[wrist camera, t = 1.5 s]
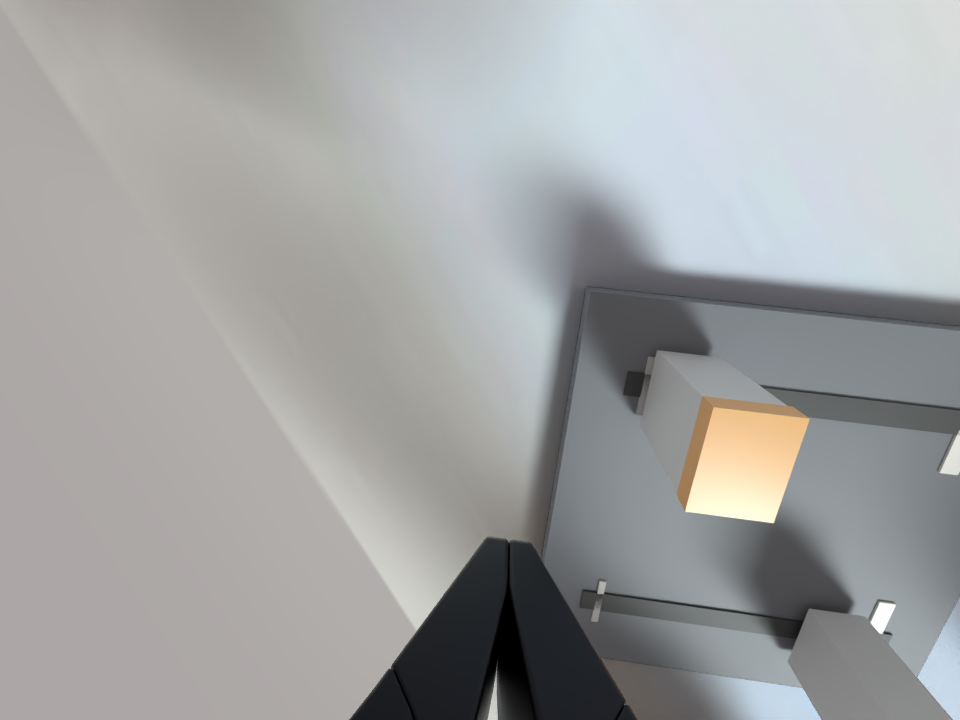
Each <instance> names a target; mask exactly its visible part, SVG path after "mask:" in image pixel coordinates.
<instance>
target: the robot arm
mask: <svg viewBox="0 0 960 720" xmlns="http://www.w3.org/2000/svg"><path fill="white" fill-rule="evenodd" d="M496 669H497V706H498V720H637V718H636V717H635V715H634V713H633V712H632V710H631V708H630V707H629V706H628V705H626V701H625V699H624V697H623V695H622V694H621V692H620V690H619V689H618V687H617V685H616V684H615V682H614V680H613V679H612V677H611V675H610V674H609V672H608V670H607V669H606V667H605V665H604V663H603V662H602V660H601V658H600V657H599V655H598V653H597V652H596V650H595V648H594V647H593V645H592V643H591V642H590V640H589V638H588V637H587V635H586V633H585V632H584V630H583V628H582V627H581V625H580V623H579V622H578V620H577V618H576V617H575V615H574V613H573V612H572V610H571V608H570V607H569V605H568V603H567V602H566V600H565V598H564V597H563V595H562V593H561V592H560V590H559V588H558V587H557V585H556V583H555V582H554V580H553V578H552V577H551V575H550V573H549V572H548V570H547V568H546V567H545V565H544V563H543V562H542V560H541V558H540V557H539V555H538V553H537V552H536V550H535V548H534V547H533V545H532V544H531V543H529V542H524V541H517V540H511V541H510V542H508V540H506V539H502V538H495V537H487V538H486V539H485V540H484V541H483V543H482V544H481V545H480V547H479V548H478V549H477V551H476V552H475V553H474V555H473V556H472V557H471V559H470V560H469V561H468V563H467V564H466V566H465V567H464V568H463V570H462V571H461V572H460V574H459V575H458V576H457V578H456V579H455V580H454V582H453V583H452V584H451V586H450V587H449V588H448V590H447V591H446V592H445V594H444V595H443V597H442V598H441V599H440V601H439V602H438V603H437V605H436V606H435V607H434V609H433V610H432V611H431V613H430V614H429V615H428V617H427V618H426V619H425V621H424V622H423V624H422V625H421V626H420V628H419V629H418V630H417V632H416V633H415V635H414V636H413V637H412V638H411V640H410V641H409V643H408V644H407V645H406V646H405V648H404V649H403V651H402V652H401V653H400V655H399V656H398V657H397V659H396V660H395V661H394V663H393V664H392V666H391V669H388V671H387V672H386V673H385V674H384V676H383V677H382V678H381V680H380V681H379V683H378V684H377V685H376V687H375V688H374V689H373V690H372V692H371V693H370V694H369V696H368V697H367V698H366V699H365V701H364V702H363V703H362V704H361V706H360V707H359V708H358V709H357V711H356V712H355V713H354V714H353V716H352V717H351V718H350V720H487V719H488V714H489V709H490V704H491V698H492V693H493V688H494V682H495V675H496Z"/></svg>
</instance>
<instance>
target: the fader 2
mask: <svg viewBox="0 0 960 720" xmlns="http://www.w3.org/2000/svg"><path fill="white" fill-rule="evenodd" d="M788 664H789V665H790V667H791V669H792V670H793V672H794V674H795V675H796V677H797V679H798V680H799V682H800V684H801V686H802V687H803V689H804V691H805V692H806V694H807V696H808V697H809V699H810V701H811V702H812V704H813V706H814V708H815V709H816V711H817V713H818V714H819V716H820V718H821V719H822V720H952V718H951V717H950V716H949V715H948V714H947V712H946V711H945V710H944V709H943V708H942V707H941V705H940V704H939V703H938V702H937V701H936V700H935V698H934V697H933V696H932V695H931V694H930V692H929V691H928V690H927V689H926V688H925V687H924V685H923V684H922V683H921V682H920V681H919V679H918V678H917V677H916V676H915V675H914V674H913V672H912V671H911V670H910V669H909V668H908V667H907V665H906V664H905V663H904V662H903V661H902V659H901V658H900V657H899V656H898V655H897V654H896V652H895V651H894V650H893V649H892V648H891V647H890V645H889V644H888V643H887V642H886V641H885V639H884V638H883V637H882V636H881V635H880V634H879V632H878V631H877V630H876V629H875V628H874V627H873V625H872V624H871V623H870V622H869V621H868V619H867V618H866V617H865V616H859V615H852V614H845V613H838V612H831V611H823V610H816V609H809V610H808V612H807V615H806V617H805V620H804V622H803V625H802V627H801V630H800V632H799V635H798V637H797V640H796V642H795V645H794V647H793V649H792V652H791V654H790V657H789V659H788Z"/></svg>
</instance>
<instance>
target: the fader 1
mask: <svg viewBox="0 0 960 720" xmlns="http://www.w3.org/2000/svg"><path fill="white" fill-rule="evenodd" d="M809 420H810V418H808V417H807V416H805V415H804V414H803V413H801V412H800V411H798V410H797V409H796V408H794V407H792V406H787V405H786V404H784V403H783V402H782V401H780V400H779V399H778V398H776V397H775V396H773V395H772V394H771V393H769V392H768V391H767V390H765V389H764V388H762V387H761V386H760V385H758V384H757V383H756V382H754V381H753V380H751V379H750V378H749V377H747V376H746V375H745V374H743V373H742V372H740V371H739V370H738V369H736V368H735V367H734V366H732V365H731V364H729V363H728V362H727V361H725V360H724V359H723V358H721V357H713V356H704V355H695V354H686V353H678V352H669V351H660V350H657V353H656V357H655V361H654V366H653V370H652V375H651V379H650V384H649V388H648V393H647V397H646V402H645V406H644V411H643V415H642V420H641V424H640V426H641V428H642V430H643V432H644V433H645V435H646V437H647V439H648V441H649V442H650V444H651V446H652V448H653V450H654V451H655V453H656V455H657V457H658V459H659V460H660V462H661V464H662V466H663V468H664V469H665V471H666V473H667V475H668V477H669V478H670V480H671V482H672V484H673V486H674V487H675V489H676V491H677V495H676V496H677V498H678V500H679V501H680V503H681V505H682V507H683V509H684V511H685V512H692V513H700V514H707V515H715V516H723V517H730V518H738V519H745V520H753V521H761V522H768V523H774V521H775V518H776V515H777V512H778V509H779V506H780V504H781V501H782V498H783V495H784V492H785V489H786V486H787V483H788V480H789V478H790V475H791V472H792V469H793V466H794V463H795V460H796V457H797V455H798V452H799V449H800V446H801V443H802V440H803V437H804V434H805V432H806V429H807V426H808V423H809Z"/></svg>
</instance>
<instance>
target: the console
mask: <svg viewBox="0 0 960 720" xmlns="http://www.w3.org/2000/svg"><path fill="white" fill-rule="evenodd" d="M657 350H660V351H669V352H678V353H686V354H695V355H704V356H713V357H721V358H723V359H724V360H725V361H727V362H728V363H729V364H731V365H732V366H734V367H735V368H736V369H738V370H739V371H740V372H742V373H743V374H745V375H746V376H747V377H749V378H750V379H751V380H753V381H754V382H756V383H757V384H758V385H760V386H761V387H762V388H764V389H765V390H767V391H768V392H769V393H771V394H772V395H773V396H775V397H776V398H778V399H779V400H780V401H782V402H783V403H784V404H786V405H787V406H792V407H794V408H796V409H797V410H798V411H800V412H801V413H803V414H804V415H805V416H807V417H808V418H810V420H809V423H808V426H807V429H806V432H805V434H804V437H803V440H802V443H801V446H800V449H799V452H798V455H797V457H796V460H795V463H794V466H793V469H792V472H791V475H790V478H789V480H788V483H787V486H786V489H785V492H784V495H783V498H782V501H781V504H780V506H779V509H778V512H777V515H776V518H775V521H774V523H768V522H761V521H753V520H745V519H738V518H730V517H723V516H715V515H707V514H700V513H692V512H685V511H684V509H683V507H682V505H681V503H680V501H679V500H678V498H677V496H676V495H677V491H676V489H675V487H674V486H673V484H672V482H671V480H670V478H669V477H668V475H667V473H666V471H665V469H664V468H663V466H662V464H661V462H660V460H659V459H658V457H657V455H656V453H655V451H654V450H653V448H652V446H651V444H650V442H649V441H648V439H647V437H646V435H645V433H644V432H643V430H642V428H641V426H640V424H641V420H642V415H643V411H644V406H645V402H646V397H647V393H648V388H649V384H650V379H651V375H652V370H653V366H654V361H655V357H656V353H657ZM541 560H542V562H543V563H544V565H545V567H546V568H547V570H548V572H549V573H550V575H551V577H552V578H553V580H554V582H555V583H556V585H557V587H558V588H559V590H560V592H561V593H562V595H563V597H564V598H565V600H566V602H567V603H568V605H569V607H570V608H571V610H572V612H573V613H574V615H575V617H576V618H577V620H578V622H579V623H580V625H581V627H582V628H583V630H584V632H585V633H586V635H587V637H588V638H589V640H590V642H591V643H592V645H593V647H594V648H595V650H596V652H597V653H598V655H599V657H600V658H606V659H612V660H619V661H626V662H632V663H639V664H646V665H652V666H659V667H666V668H672V669H679V670H686V671H693V672H699V673H706V674H713V675H719V676H726V677H733V678H739V679H746V680H753V681H759V682H766V683H773V684H779V685H786V686H793V687H800V688H803V687H802V686H801V684H800V682H799V680H798V679H797V677H796V675H795V674H794V672H793V670H792V669H791V667H790V665H789V664H788V659H789V657H790V654H791V652H792V649H793V647H794V645H795V642H796V640H797V637H798V635H799V632H800V630H801V627H802V625H803V622H804V620H805V617H806V615H807V612H808V610H809V609H816V610H823V611H831V612H838V613H845V614H852V615H859V616H865V617H866V618H867V619H868V621H869V622H870V623H871V624H872V625H873V627H874V628H875V629H876V630H877V631H878V632H879V634H880V635H881V636H882V637H883V638H884V639H885V641H886V642H887V643H888V644H889V645H890V647H891V648H892V649H893V650H894V651H895V652H896V654H897V655H898V656H899V657H900V658H901V659H902V661H903V662H904V663H905V664H906V665H907V667H908V668H909V669H910V670H911V671H912V672H913V674H914V675H915V676H916V677H918V675H919V673H920V671H921V669H922V667H923V665H924V663H925V661H926V660H927V658H928V656H929V654H930V652H931V650H932V648H933V646H934V644H935V642H936V641H937V639H938V637H939V635H940V633H941V631H942V629H943V627H944V625H945V624H946V622H947V620H948V618H949V616H950V614H951V612H952V610H953V608H954V606H955V605H956V603H957V601H958V599H959V597H960V326H951V325H941V324H932V323H923V322H913V321H904V320H895V319H885V318H876V317H867V316H857V315H848V314H839V313H829V312H820V311H810V310H801V309H792V308H782V307H773V306H764V305H754V304H745V303H736V302H726V301H717V300H708V299H698V298H689V297H680V296H670V295H661V294H651V293H642V292H633V291H623V290H614V289H605V288H595V287H586V291H585V297H584V303H583V309H582V315H581V321H580V327H579V333H578V339H577V345H576V351H575V357H574V363H573V369H572V375H571V381H570V387H569V393H568V399H567V405H566V411H565V418H564V424H563V430H562V436H561V442H560V448H559V454H558V460H557V466H556V472H555V478H554V484H553V490H552V496H551V502H550V508H549V514H548V520H547V526H546V532H545V538H544V544H543V550H542V556H541Z"/></svg>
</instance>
